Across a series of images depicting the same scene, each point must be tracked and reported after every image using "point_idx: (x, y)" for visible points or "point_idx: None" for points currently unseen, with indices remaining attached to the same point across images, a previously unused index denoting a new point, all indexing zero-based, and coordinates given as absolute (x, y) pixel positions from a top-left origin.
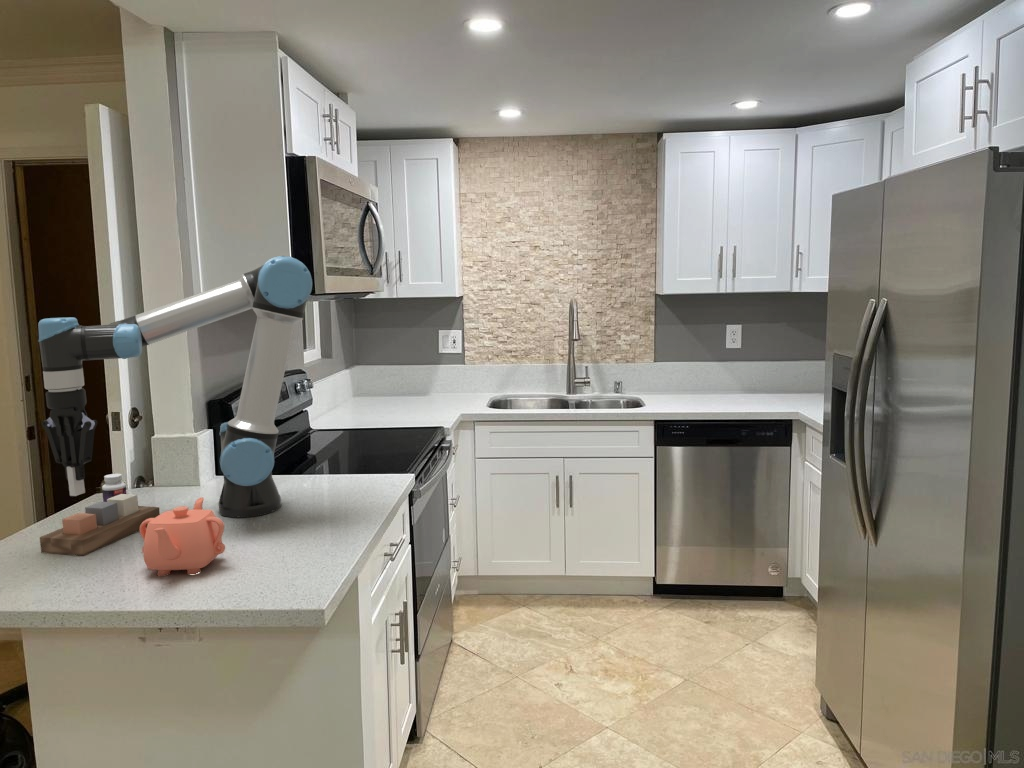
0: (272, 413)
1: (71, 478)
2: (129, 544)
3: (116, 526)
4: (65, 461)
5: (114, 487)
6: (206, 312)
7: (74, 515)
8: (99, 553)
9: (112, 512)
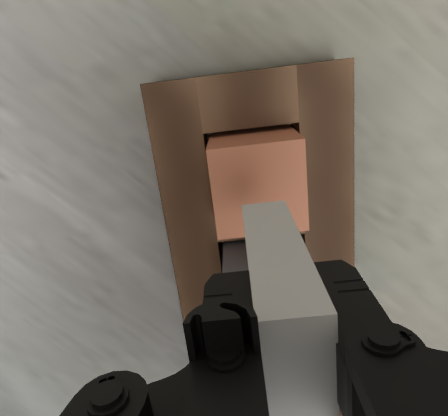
0: None
1: (269, 256)
2: (108, 217)
3: (172, 254)
4: (378, 368)
5: None
6: None
7: (294, 197)
8: (123, 122)
9: None
